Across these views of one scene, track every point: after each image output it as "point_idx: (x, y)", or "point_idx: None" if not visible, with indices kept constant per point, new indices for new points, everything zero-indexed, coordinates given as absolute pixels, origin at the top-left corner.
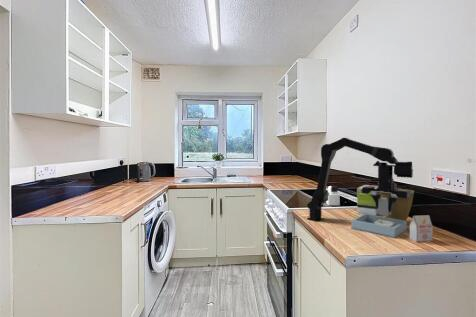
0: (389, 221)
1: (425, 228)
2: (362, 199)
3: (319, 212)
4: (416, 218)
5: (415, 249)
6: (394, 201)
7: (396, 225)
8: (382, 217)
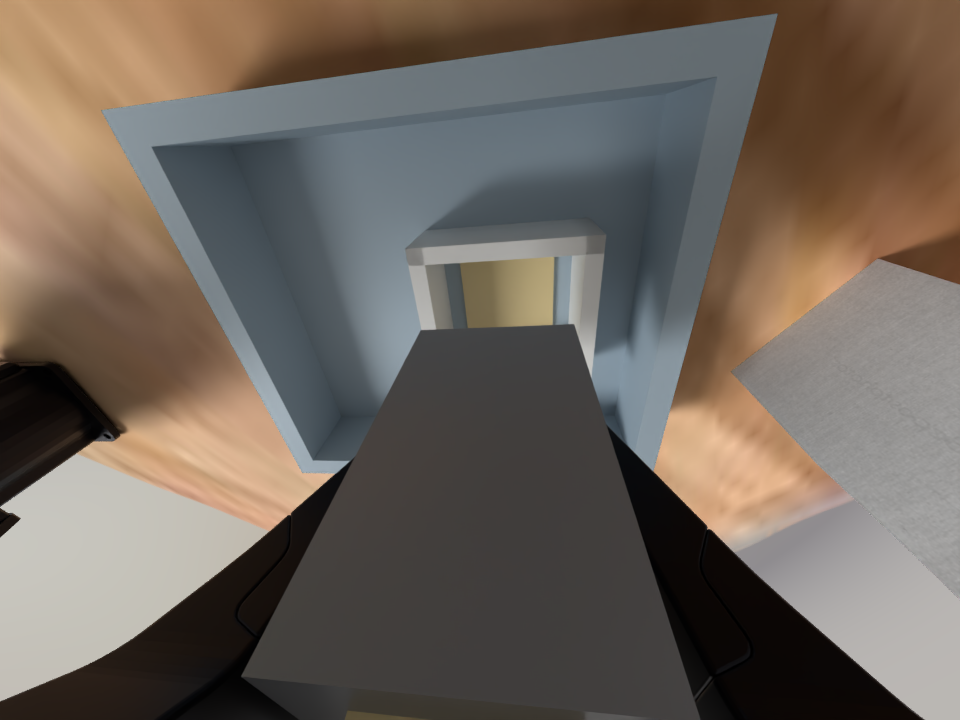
0: (529, 246)
1: None
2: None
3: (20, 456)
4: None
5: (760, 506)
6: (798, 668)
7: (650, 393)
8: (371, 119)
